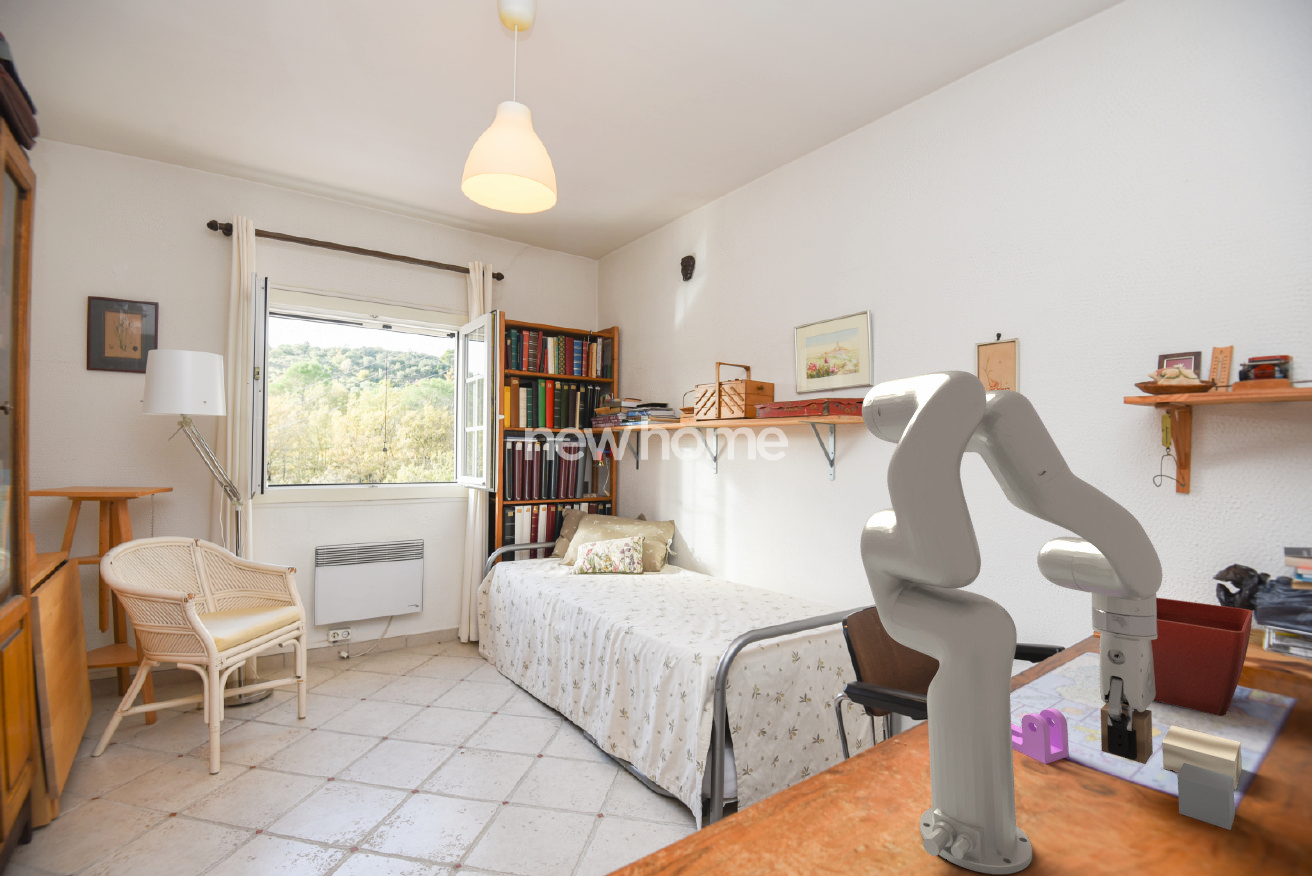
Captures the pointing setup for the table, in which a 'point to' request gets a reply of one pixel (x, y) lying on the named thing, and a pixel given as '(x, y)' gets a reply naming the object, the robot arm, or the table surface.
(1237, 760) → the birch block
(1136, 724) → the walnut block
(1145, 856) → the table surface
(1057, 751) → the bracket
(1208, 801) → the grey block
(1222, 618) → the plant pot
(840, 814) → the table surface
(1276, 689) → the table surface
